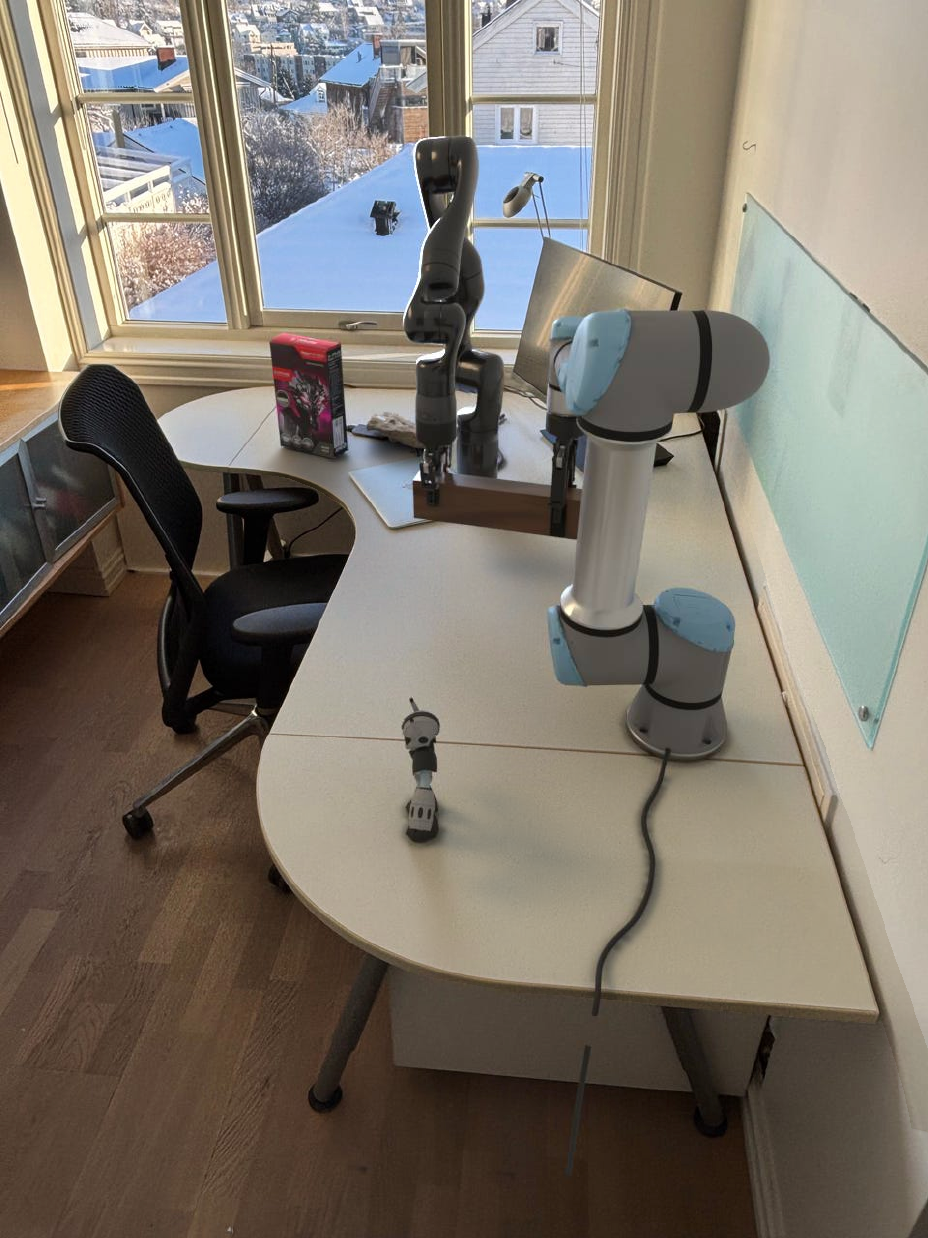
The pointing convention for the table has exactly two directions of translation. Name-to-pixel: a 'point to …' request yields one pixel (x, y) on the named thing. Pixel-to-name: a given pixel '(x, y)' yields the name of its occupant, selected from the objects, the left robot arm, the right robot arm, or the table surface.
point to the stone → (395, 428)
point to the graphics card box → (309, 394)
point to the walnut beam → (495, 504)
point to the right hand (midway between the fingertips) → (559, 528)
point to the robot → (422, 772)
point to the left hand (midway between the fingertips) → (437, 498)
